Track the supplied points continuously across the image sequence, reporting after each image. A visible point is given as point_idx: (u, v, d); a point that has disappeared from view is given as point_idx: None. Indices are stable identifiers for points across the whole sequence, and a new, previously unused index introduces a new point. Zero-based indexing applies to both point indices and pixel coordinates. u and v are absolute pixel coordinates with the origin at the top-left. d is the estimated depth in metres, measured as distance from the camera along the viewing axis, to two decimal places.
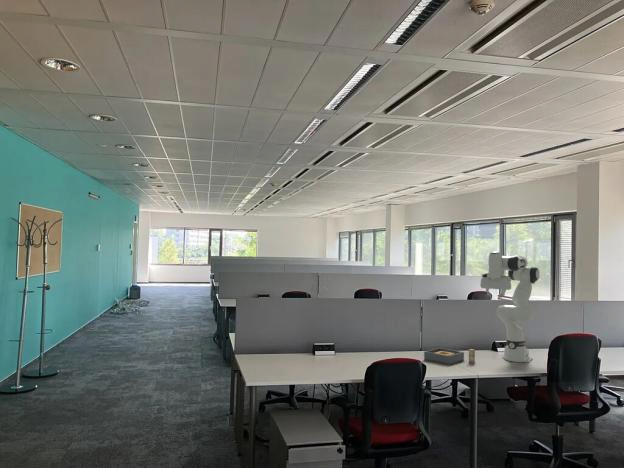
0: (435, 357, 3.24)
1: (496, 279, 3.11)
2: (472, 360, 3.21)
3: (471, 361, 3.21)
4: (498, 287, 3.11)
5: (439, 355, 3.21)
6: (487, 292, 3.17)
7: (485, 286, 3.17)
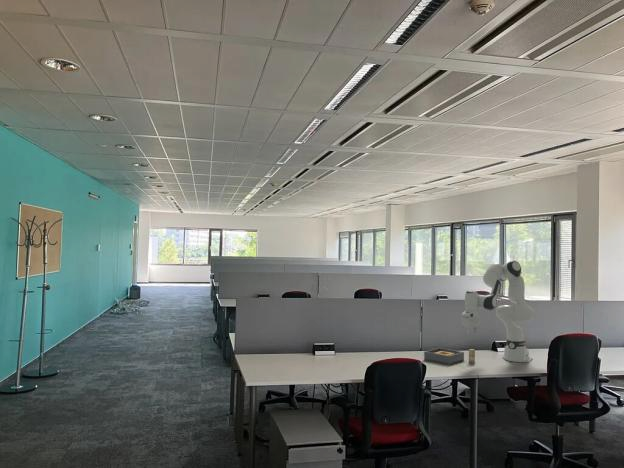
0: (435, 357, 3.24)
1: (475, 317, 3.24)
2: (472, 360, 3.21)
3: (471, 361, 3.21)
4: (475, 324, 3.25)
5: (439, 355, 3.21)
6: (468, 331, 3.20)
7: (469, 325, 3.19)
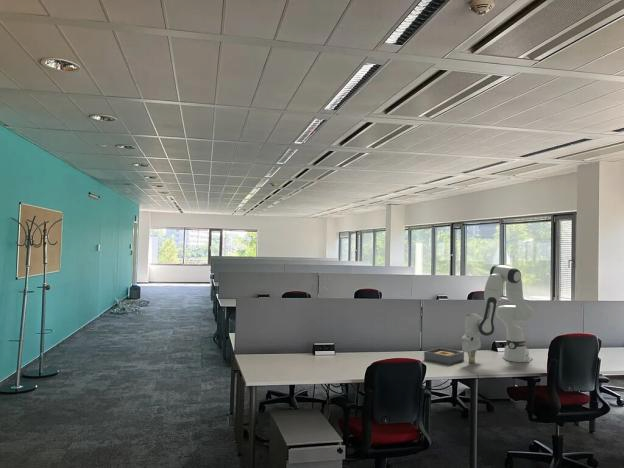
0: (435, 357, 3.24)
1: (476, 340, 3.23)
2: (472, 360, 3.21)
3: (471, 361, 3.21)
4: (476, 348, 3.24)
5: (439, 355, 3.21)
6: (470, 354, 3.20)
7: (469, 349, 3.18)
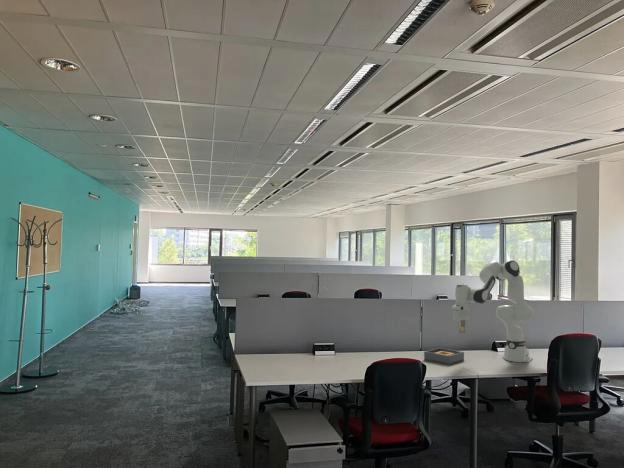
0: (435, 357, 3.24)
1: None
2: (462, 330, 3.24)
3: (461, 331, 3.25)
4: (466, 318, 3.28)
5: (439, 355, 3.21)
6: (460, 324, 3.24)
7: (459, 318, 3.21)
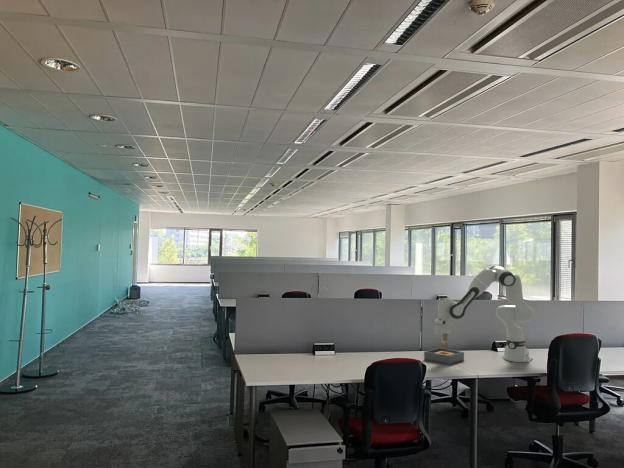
0: (435, 357, 3.24)
1: (448, 324, 3.30)
2: (444, 343, 3.28)
3: (443, 344, 3.28)
4: (448, 331, 3.31)
5: (439, 355, 3.21)
6: (442, 338, 3.27)
7: (441, 332, 3.24)
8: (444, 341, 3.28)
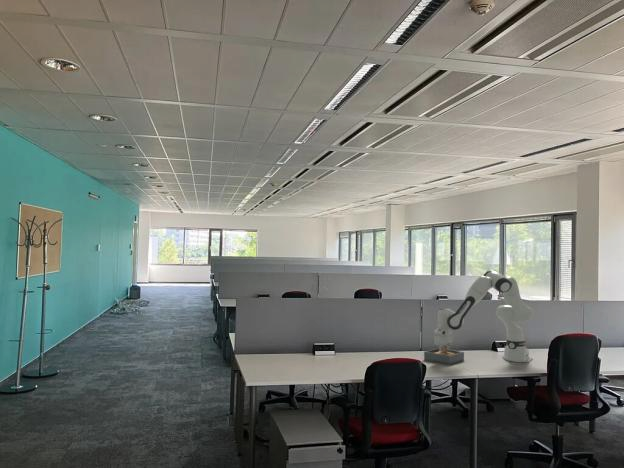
0: (435, 357, 3.24)
1: None
2: None
3: None
4: (448, 341, 3.31)
5: (439, 355, 3.21)
6: (441, 348, 3.26)
7: (441, 343, 3.25)
8: None
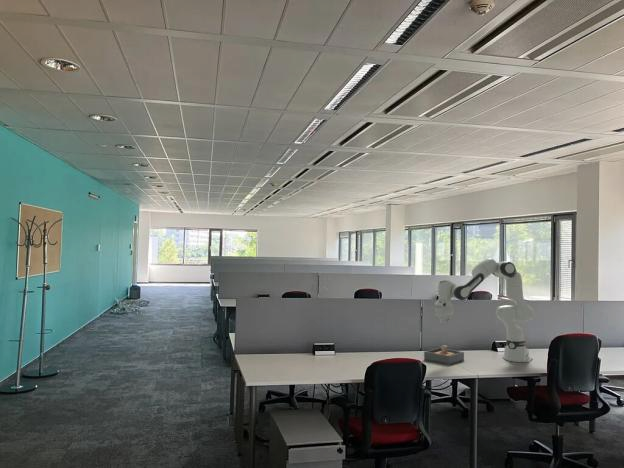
0: (435, 357, 3.24)
1: (449, 306, 3.31)
2: None
3: None
4: (448, 313, 3.32)
5: (439, 355, 3.21)
6: (441, 320, 3.26)
7: (442, 315, 3.25)
8: None
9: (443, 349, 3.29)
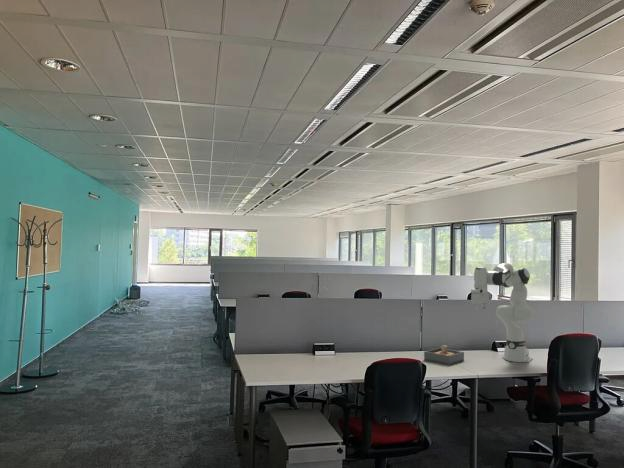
0: (435, 357, 3.24)
1: (485, 293, 3.24)
2: None
3: None
4: (485, 301, 3.25)
5: (439, 355, 3.21)
6: (478, 307, 3.20)
7: (479, 301, 3.18)
8: None
9: (443, 349, 3.29)
